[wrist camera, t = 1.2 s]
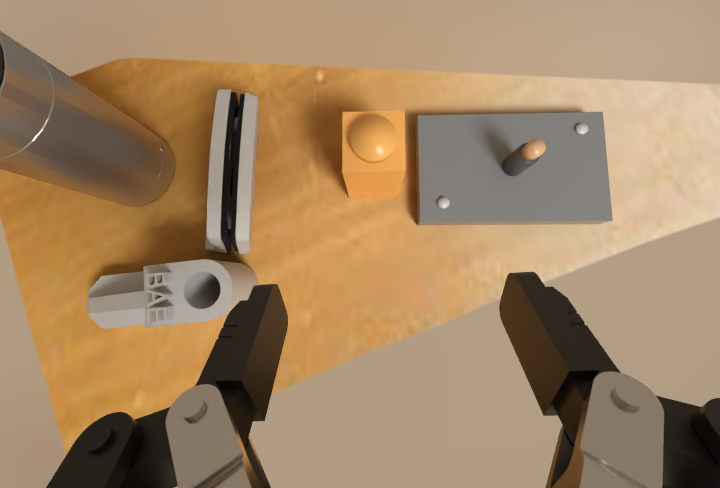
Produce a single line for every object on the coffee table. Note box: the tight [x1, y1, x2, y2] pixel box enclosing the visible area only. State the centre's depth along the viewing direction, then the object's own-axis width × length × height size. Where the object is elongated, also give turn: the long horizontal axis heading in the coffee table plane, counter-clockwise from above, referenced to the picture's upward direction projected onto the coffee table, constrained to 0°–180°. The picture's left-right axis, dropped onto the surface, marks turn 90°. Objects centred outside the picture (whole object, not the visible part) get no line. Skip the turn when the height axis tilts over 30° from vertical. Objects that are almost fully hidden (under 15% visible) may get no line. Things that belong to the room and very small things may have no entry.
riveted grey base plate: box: [415, 112, 612, 225], centre depth 32 cm, size 20×12×7 cm, turn 90°
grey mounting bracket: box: [88, 259, 259, 329], centre depth 31 cm, size 6×18×8 cm, turn 96°
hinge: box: [205, 89, 259, 254], centre depth 32 cm, size 17×5×10 cm, turn 179°
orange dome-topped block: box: [342, 111, 406, 198], centre depth 31 cm, size 6×6×10 cm
